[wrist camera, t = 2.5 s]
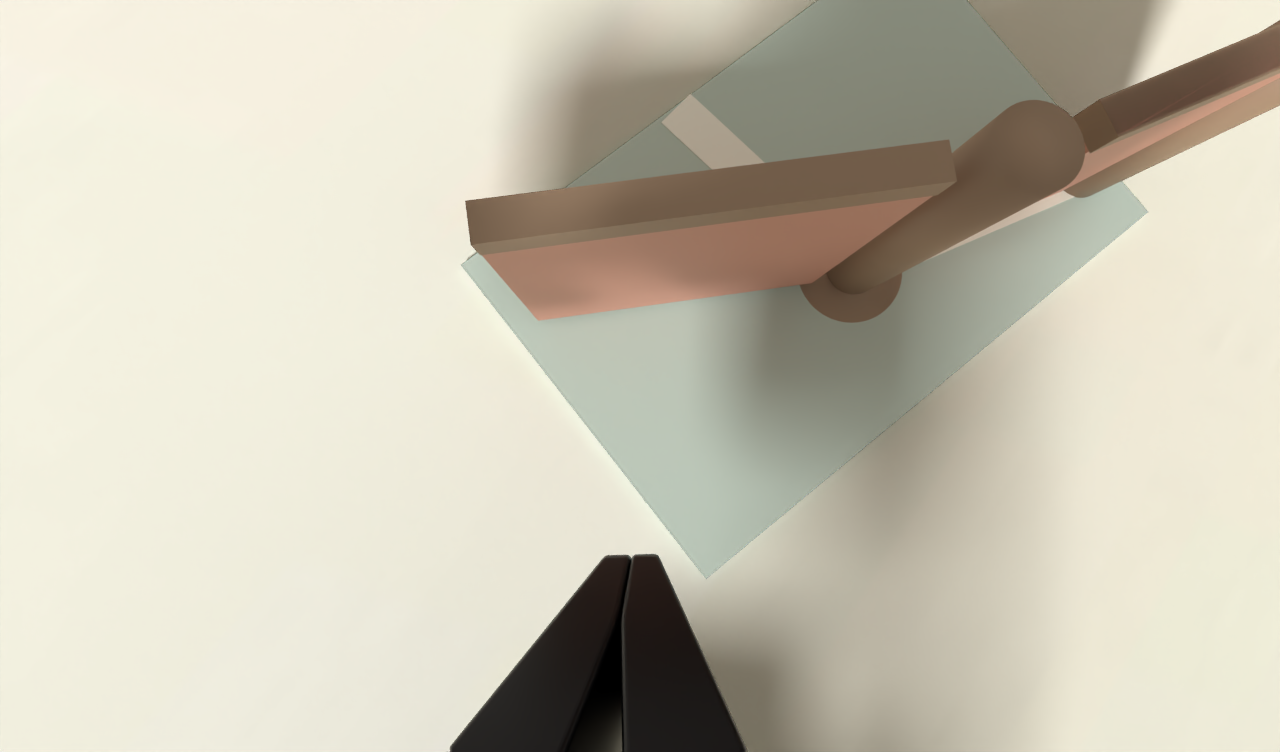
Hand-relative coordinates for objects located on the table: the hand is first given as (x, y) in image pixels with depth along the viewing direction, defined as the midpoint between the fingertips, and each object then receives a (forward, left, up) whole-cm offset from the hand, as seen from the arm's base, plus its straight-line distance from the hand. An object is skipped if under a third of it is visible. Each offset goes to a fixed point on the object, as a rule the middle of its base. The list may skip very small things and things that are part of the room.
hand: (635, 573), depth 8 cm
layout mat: (+3, -11, -11) cm, 16 cm away
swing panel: (+4, -7, -11) cm, 13 cm away
